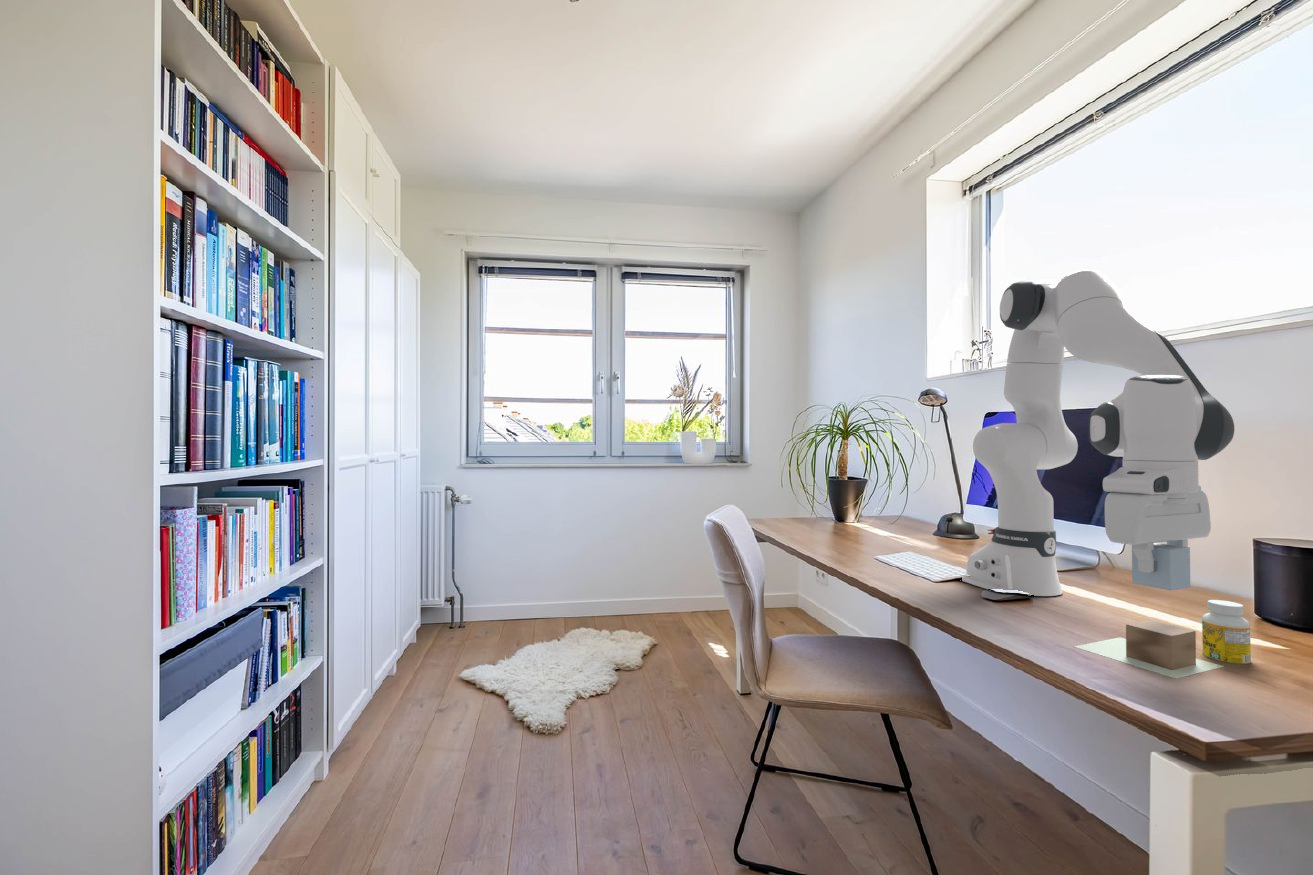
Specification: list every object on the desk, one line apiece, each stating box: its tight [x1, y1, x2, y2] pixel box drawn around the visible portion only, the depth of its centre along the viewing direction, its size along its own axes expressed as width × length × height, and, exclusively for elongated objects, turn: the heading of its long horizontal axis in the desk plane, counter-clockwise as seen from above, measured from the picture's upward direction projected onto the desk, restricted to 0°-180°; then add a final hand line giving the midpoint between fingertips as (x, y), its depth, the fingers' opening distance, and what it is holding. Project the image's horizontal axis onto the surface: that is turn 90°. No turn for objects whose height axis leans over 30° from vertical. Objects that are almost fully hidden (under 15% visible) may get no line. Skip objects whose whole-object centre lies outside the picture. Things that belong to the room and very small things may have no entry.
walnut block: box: [1125, 619, 1197, 670], centre depth 90 cm, size 6×6×5 cm
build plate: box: [1073, 637, 1225, 680], centre depth 92 cm, size 14×12×1 cm
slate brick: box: [1131, 542, 1191, 592], centre depth 90 cm, size 5×5×6 cm
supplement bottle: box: [1201, 599, 1252, 665], centre depth 91 cm, size 5×5×10 cm
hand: (1160, 570), depth 90 cm, fingers closed on slate brick, 5 cm apart
